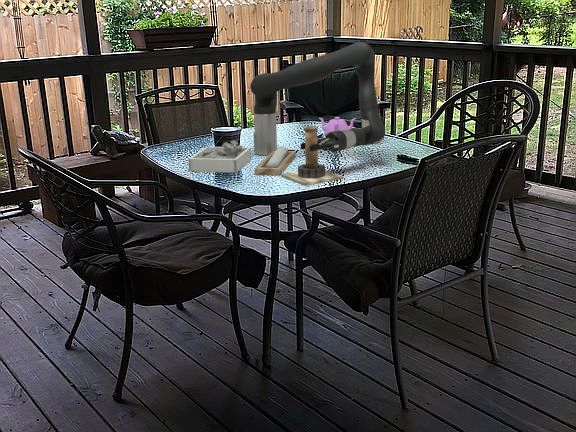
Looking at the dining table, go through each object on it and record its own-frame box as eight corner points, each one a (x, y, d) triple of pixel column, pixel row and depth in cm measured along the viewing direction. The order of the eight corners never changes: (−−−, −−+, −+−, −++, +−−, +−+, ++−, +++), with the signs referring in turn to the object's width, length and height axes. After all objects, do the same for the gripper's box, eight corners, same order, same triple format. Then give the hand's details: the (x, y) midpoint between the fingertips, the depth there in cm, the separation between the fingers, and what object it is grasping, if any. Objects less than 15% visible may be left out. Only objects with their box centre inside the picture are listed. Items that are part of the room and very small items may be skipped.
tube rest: (254, 174, 246) (254, 168, 246) (273, 156, 275) (272, 150, 274) (279, 175, 245) (279, 169, 244) (295, 156, 273) (295, 151, 272)
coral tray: (189, 171, 254) (188, 158, 252) (207, 158, 274) (206, 146, 273) (236, 172, 250) (236, 159, 249) (251, 159, 271) (250, 147, 269)
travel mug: (361, 140, 301) (361, 101, 295) (378, 140, 300) (379, 100, 295) (362, 144, 293) (362, 103, 288) (380, 144, 293) (381, 103, 287)
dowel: (304, 172, 238) (303, 128, 233) (307, 169, 242) (305, 125, 237) (317, 172, 237) (316, 128, 232) (319, 169, 241) (318, 125, 236)
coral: (247, 163, 265) (246, 139, 262) (235, 171, 252) (234, 146, 249) (208, 161, 269) (206, 137, 266) (194, 169, 257) (192, 144, 254)
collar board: (305, 185, 230) (305, 174, 229) (281, 176, 243) (281, 165, 242) (342, 178, 238) (342, 167, 237) (317, 170, 251) (317, 159, 250)
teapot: (318, 135, 316) (318, 117, 313) (341, 131, 323) (341, 113, 320) (333, 139, 306) (333, 120, 303) (356, 135, 313) (356, 116, 310)
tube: (280, 163, 247) (289, 148, 270) (266, 158, 247) (277, 144, 270) (276, 176, 249) (285, 160, 272) (262, 172, 249) (273, 156, 272)
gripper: (327, 127, 249) (292, 134, 240) (354, 132, 239) (318, 139, 229) (328, 147, 252) (293, 154, 242) (354, 153, 241) (318, 161, 231)
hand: (305, 147), depth 235 cm, fingers closed on dowel, 4 cm apart
